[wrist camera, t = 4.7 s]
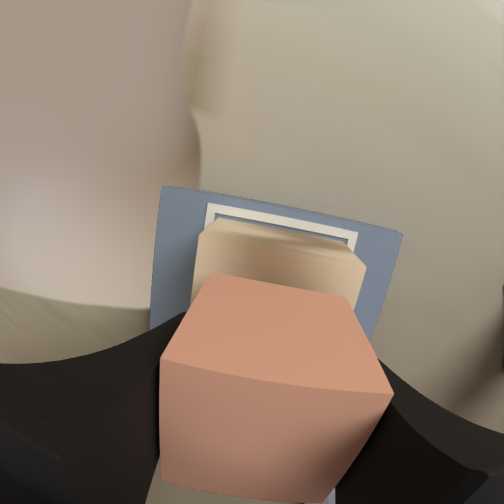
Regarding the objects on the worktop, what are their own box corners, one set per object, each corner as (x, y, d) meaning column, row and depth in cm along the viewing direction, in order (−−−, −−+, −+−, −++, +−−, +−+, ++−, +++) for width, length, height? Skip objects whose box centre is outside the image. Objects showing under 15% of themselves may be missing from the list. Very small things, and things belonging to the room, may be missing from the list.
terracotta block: (345, 296, 10) (393, 393, 5) (310, 398, 11) (322, 503, 6) (211, 271, 10) (160, 358, 5) (197, 378, 11) (161, 480, 6)
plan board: (395, 230, 15) (403, 235, 14) (307, 458, 20) (308, 468, 19) (168, 185, 15) (161, 186, 14) (154, 431, 20) (150, 440, 19)
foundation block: (343, 241, 14) (366, 266, 11) (312, 349, 16) (321, 396, 12) (218, 217, 15) (199, 234, 11) (202, 328, 16) (183, 372, 12)
